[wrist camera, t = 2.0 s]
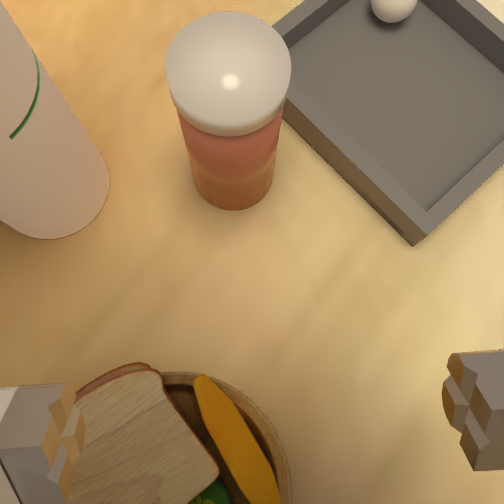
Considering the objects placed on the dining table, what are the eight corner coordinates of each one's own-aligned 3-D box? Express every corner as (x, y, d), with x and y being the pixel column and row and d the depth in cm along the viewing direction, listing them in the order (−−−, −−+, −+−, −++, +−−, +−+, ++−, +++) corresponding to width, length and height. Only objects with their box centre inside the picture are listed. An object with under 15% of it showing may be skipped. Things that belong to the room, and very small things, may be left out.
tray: (239, 75, 32) (239, 51, 30) (383, -39, 35) (394, -69, 32) (412, 246, 30) (427, 235, 27) (555, 110, 32) (580, 89, 30)
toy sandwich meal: (123, 672, 24) (96, 742, 20) (16, 428, 27) (-30, 440, 22) (332, 534, 26) (351, 570, 22) (211, 317, 29) (206, 307, 24)
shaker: (175, 170, 31) (139, 60, 20) (236, 120, 32) (233, -10, 21) (230, 228, 30) (222, 147, 19) (291, 176, 31) (317, 69, 20)
